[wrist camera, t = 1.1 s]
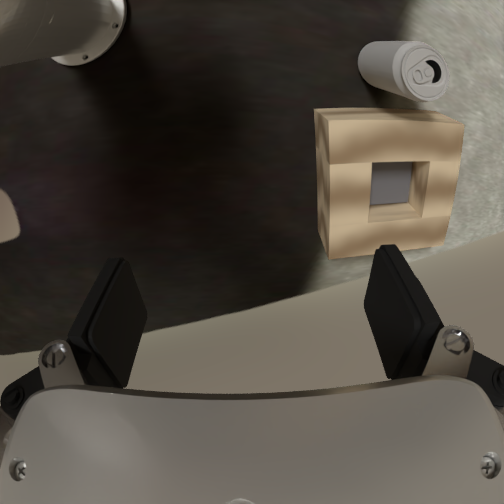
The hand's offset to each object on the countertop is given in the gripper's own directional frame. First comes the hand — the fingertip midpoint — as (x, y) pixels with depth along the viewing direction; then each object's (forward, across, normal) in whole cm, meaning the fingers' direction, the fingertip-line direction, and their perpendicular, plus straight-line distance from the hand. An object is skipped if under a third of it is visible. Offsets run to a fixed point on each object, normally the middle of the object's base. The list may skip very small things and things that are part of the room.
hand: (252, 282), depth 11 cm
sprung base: (+28, -17, +7) cm, 34 cm away
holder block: (+30, -17, +7) cm, 35 cm away
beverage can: (+30, -16, -8) cm, 35 cm away
